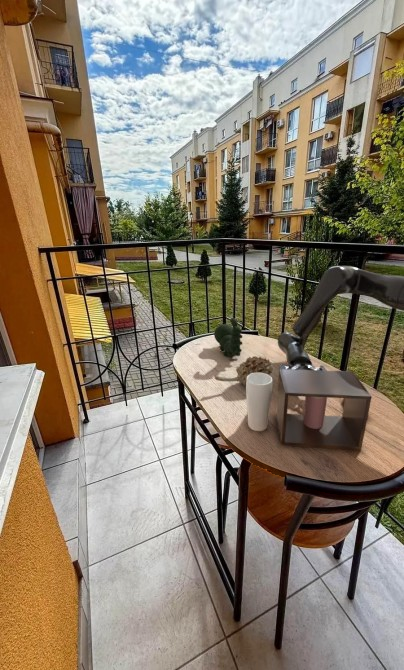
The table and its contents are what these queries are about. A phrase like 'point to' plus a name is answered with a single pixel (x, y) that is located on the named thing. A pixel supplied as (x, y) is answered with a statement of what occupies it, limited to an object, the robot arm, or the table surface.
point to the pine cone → (250, 369)
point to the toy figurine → (229, 338)
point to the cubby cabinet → (335, 428)
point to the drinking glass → (258, 400)
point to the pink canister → (314, 412)
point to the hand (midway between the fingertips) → (307, 383)
